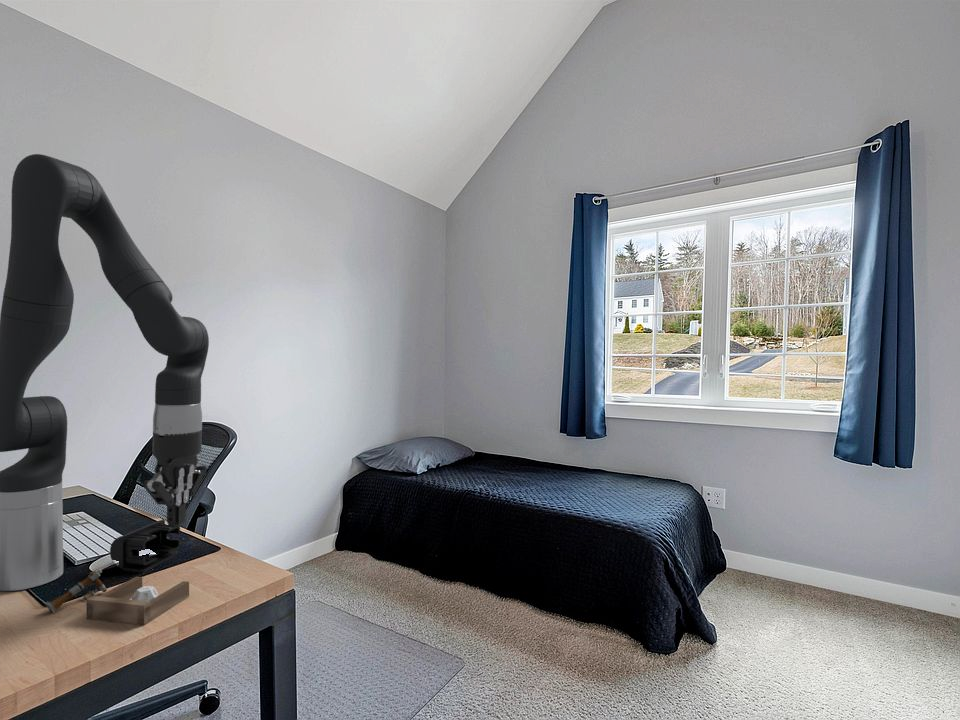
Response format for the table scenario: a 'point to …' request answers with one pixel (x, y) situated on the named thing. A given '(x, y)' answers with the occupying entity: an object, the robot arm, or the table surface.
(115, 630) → the table surface
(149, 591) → the game die
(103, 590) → the wooden post with brackets
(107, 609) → the dice corral
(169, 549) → the end cap
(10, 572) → the robot arm
